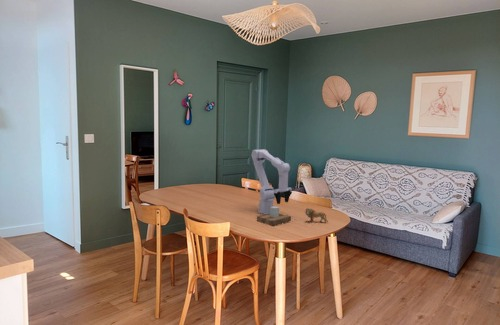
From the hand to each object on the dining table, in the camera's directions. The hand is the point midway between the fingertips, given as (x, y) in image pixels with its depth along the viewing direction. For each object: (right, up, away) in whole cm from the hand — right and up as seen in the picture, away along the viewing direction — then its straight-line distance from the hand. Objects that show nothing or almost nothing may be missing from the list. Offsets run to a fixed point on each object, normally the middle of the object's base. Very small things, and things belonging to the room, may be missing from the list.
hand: (282, 202), depth 235 cm
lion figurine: (+20, -12, -6) cm, 24 cm away
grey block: (-6, -8, -7) cm, 12 cm away
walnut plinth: (-6, -11, -7) cm, 14 cm away
